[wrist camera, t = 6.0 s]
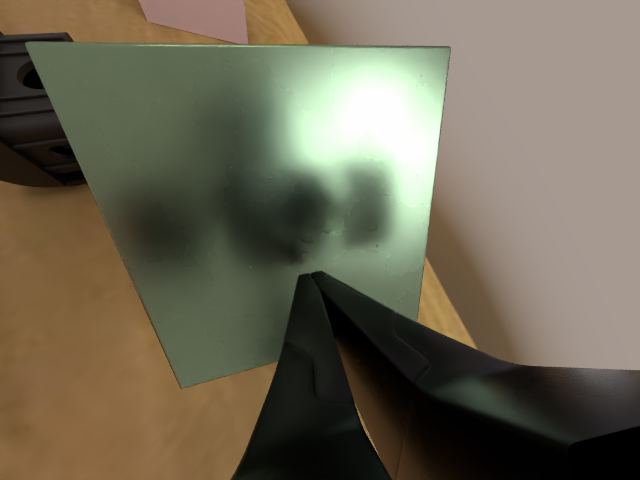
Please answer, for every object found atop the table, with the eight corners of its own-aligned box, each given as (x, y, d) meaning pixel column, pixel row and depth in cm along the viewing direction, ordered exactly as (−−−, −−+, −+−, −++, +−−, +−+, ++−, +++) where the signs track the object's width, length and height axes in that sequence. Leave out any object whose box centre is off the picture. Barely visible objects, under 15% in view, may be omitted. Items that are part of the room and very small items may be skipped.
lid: (45, 50, 6) (20, 40, 5) (435, 52, 9) (452, 45, 8) (184, 374, 11) (180, 390, 10) (408, 312, 14) (417, 321, 13)
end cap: (25, 105, 22) (-75, 17, 16) (114, 96, 24) (56, 13, 18) (27, 200, 19) (-92, 138, 13) (128, 181, 21) (65, 119, 15)
